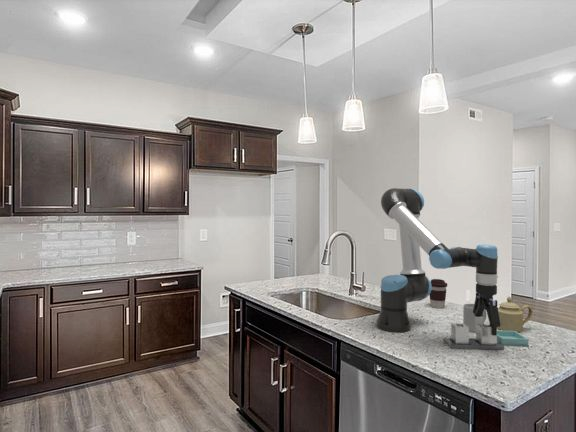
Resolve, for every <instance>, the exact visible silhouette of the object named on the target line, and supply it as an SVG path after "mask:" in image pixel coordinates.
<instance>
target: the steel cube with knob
mask: <svg viewBox="0 0 576 432" xmlns="http://www.w3.org/2000/svg"><path fill="white" fill-rule="evenodd" d="M489 325H490V323H484V324H477V327H476V333H475V335H476V337H475V339H476V342H477V343H478V344H480V345H486V346H495V343H489Z"/></svg>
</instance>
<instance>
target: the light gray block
mask: <svg viewBox="0 0 576 432" xmlns="http://www.w3.org/2000/svg"><path fill="white" fill-rule="evenodd" d="M450 327H451V328H450V338H451V342H452V343H453V344H454V345H469V339H470V338H469V335H470V332H469V327H468V326H466V325H465V324H463V323H455V322H454V323H452V322H451V324H450Z"/></svg>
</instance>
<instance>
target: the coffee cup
mask: <svg viewBox="0 0 576 432" xmlns="http://www.w3.org/2000/svg"><path fill="white" fill-rule="evenodd" d="M430 282H431V286H432V289H431V293H430V295H429V302H430V307H431V308H433V309H443V308H445V306H446V304H445V303H446V299H447V287H448V282H445V280H444V279H441V278H440V279H439V278H433V279H432V278H431V280H430Z"/></svg>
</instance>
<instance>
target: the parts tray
mask: <svg viewBox="0 0 576 432" xmlns="http://www.w3.org/2000/svg"><path fill="white" fill-rule="evenodd" d="M497 343H500V345H501V346H508V347H511V346H512V347H529V338H527V337H525V336H524V335H523V334H521V333H520V332H519V333H518V332H516V331H501V330H497Z"/></svg>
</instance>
